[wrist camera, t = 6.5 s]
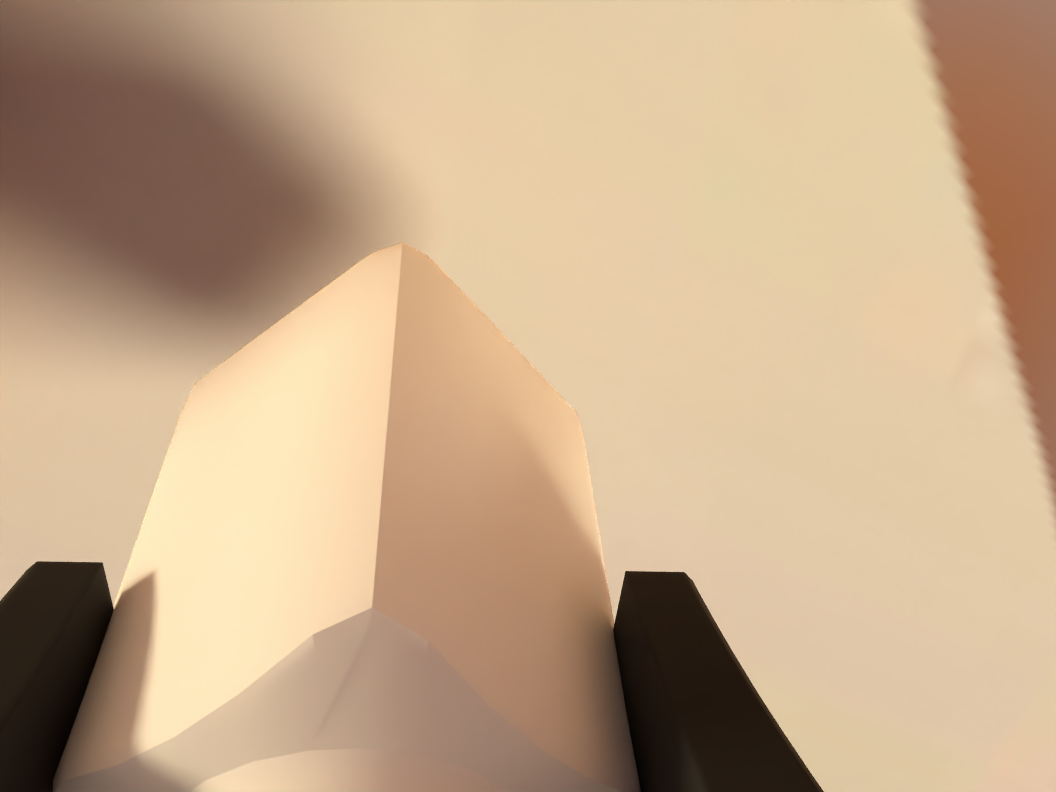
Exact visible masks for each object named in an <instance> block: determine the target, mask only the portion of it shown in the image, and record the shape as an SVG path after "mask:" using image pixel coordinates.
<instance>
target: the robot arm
mask: <svg viewBox="0 0 1056 792" xmlns="http://www.w3.org/2000/svg"><path fill="white" fill-rule="evenodd" d="M113 611H114V609H113V605H112V600H111V596H110V592H109V588H108V584H107V579H106V575H105V571H104V567H103V563H98V562H38V561H37V562H36V563H35V564H34V565H32V566H31V567H30V568H29V569H28V570H27V571H26V572H25V573H24V574H23V575H22V576H21V578H20V579H19V580H18V581H17V582H16V583H15V585H14V586H13V587H12V588H11V589H10V590H9V591H8V593H7V594H6V595H5V596H4V597H3V598H2V600H1V601H0V792H53V779H54V776H55V773H56V771H57V768H58V765H59V762H60V760H61V757H62V754H63V752H64V749H65V746H66V743H67V741H68V738H69V735H70V732H71V730H72V727H73V724H74V722H75V719H76V716H77V713H78V711H79V708H80V705H81V703H82V700H83V697H84V694H85V691H86V689H87V686H88V683H89V680H90V677H91V674H92V671H93V668H94V666H95V663H96V660H97V657H98V654H99V651H100V648H101V645H102V643H103V640H104V637H105V634H106V631H107V628H108V625H109V622H110V620H111V617H112V614H113ZM613 632H614V638H615V645H616V651H617V657H618V663H619V670H620V676H621V682H622V688H623V694H624V701H625V707H626V713H627V719H628V724H629V729H630V735H631V740H632V746H633V751H634V756H635V762H636V767H637V773H638V778H639V783H640V789H641V792H824V791H823V790H822V789H821V787H820V786H819V784H818V783H817V781H816V780H815V779H814V777H813V776H812V774H811V773H810V771H809V770H808V768H807V767H806V765H805V764H804V762H803V761H802V759H801V758H800V756H799V755H798V753H797V752H796V750H795V749H794V747H793V746H792V744H791V743H790V741H789V740H788V738H787V737H786V736H785V734H784V733H783V731H782V730H781V728H780V727H779V725H778V724H777V722H776V721H775V719H774V718H773V716H772V714H771V713H770V711H769V710H768V708H767V707H766V705H765V704H764V702H763V700H762V699H761V697H760V696H759V694H758V692H757V691H756V689H755V688H754V686H753V684H752V683H751V681H750V679H749V678H748V676H747V675H746V673H745V671H744V670H743V668H742V666H741V665H740V663H739V661H738V660H737V658H736V657H735V655H734V653H733V652H732V650H731V648H730V646H729V645H728V643H727V641H726V640H725V638H724V636H723V635H722V633H721V631H720V629H719V628H718V626H717V624H716V622H715V621H714V619H713V617H712V615H711V613H710V612H709V610H708V608H707V606H706V605H705V603H704V601H703V599H702V597H701V595H700V594H699V592H698V590H697V588H696V586H695V584H694V582H693V581H692V580H691V579H690V578H689V577H688V576H687V574H686V573H685V572H638V571H626V572H625V577H624V581H623V586H622V591H621V596H620V600H619V605H618V610H617V615H616V619H615V624H614V629H613Z"/></svg>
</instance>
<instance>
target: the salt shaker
mask: <svg viewBox="0 0 1056 792" xmlns="http://www.w3.org/2000/svg"><path fill="white" fill-rule="evenodd" d="M113 609H114V611H113V614H112V617H111V620H110V622H109V625H108V628H107V631H106V634H105V637H104V640H103V643H102V645H101V648H100V651H99V654H98V657H97V660H96V663H95V666H94V668H93V671H92V674H91V677H90V680H89V683H88V686H87V689H86V691H85V694H84V697H83V700H82V703H81V705H80V708H79V711H78V713H77V716H76V719H75V722H74V724H73V727H72V730H71V732H70V735H69V738H68V741H67V743H66V746H65V749H64V752H63V754H62V757H61V760H60V762H59V765H58V768H57V771H56V773H55V776H54V779H53V792H641V789H640V783H639V778H638V773H637V767H636V762H635V756H634V751H633V746H632V740H631V735H630V729H629V724H628V719H627V713H626V707H625V701H624V694H623V688H622V682H621V676H620V670H619V663H618V657H617V651H616V645H615V638H614V632H613V629H614V620H613V614H612V608H611V602H610V596H609V589H608V583H607V577H606V571H605V565H604V559H603V552H602V546H601V540H600V534H599V528H598V522H597V515H596V509H595V503H594V497H593V491H592V485H591V478H590V472H589V466H588V460H587V454H586V447H585V441H584V437H583V433H582V430H581V426H580V423H579V419H578V416H577V412H576V411H575V410H574V409H573V408H572V407H571V406H570V405H569V404H568V403H567V402H566V401H565V400H564V399H563V397H562V396H561V395H560V394H559V393H558V392H557V391H556V390H555V389H554V388H553V387H552V386H551V385H550V384H549V383H548V382H547V381H546V379H545V378H544V377H543V376H542V375H541V374H540V373H539V372H538V371H537V370H536V369H535V368H534V367H533V366H532V365H531V364H530V362H529V361H528V360H527V359H526V358H525V357H524V356H523V355H522V354H521V353H520V352H519V351H518V350H517V349H516V348H515V347H514V346H513V344H512V343H511V342H510V341H509V340H508V339H507V338H506V337H505V336H504V335H503V334H502V333H501V332H500V331H499V330H498V329H497V328H496V326H495V325H494V324H493V323H492V322H491V321H490V320H489V319H488V318H487V317H486V316H485V315H484V314H483V313H482V312H481V311H480V310H479V308H478V307H477V306H476V305H475V304H474V303H473V302H472V301H471V300H470V299H469V298H468V297H467V296H466V295H465V294H464V293H463V292H462V290H461V289H460V288H459V287H458V286H457V285H456V284H455V283H454V282H453V281H452V280H451V279H450V278H449V277H448V276H447V275H446V274H445V273H444V271H443V270H442V269H441V268H440V267H439V266H438V265H437V264H436V263H435V262H433V261H432V260H431V259H430V258H429V257H428V256H426V255H425V254H423V253H421V252H419V251H417V250H415V249H414V248H412V247H410V246H408V245H406V244H404V243H403V242H402V243H399V244H396V245H393V246H390V247H387V248H384V249H381V250H377V251H375V252H374V253H372V254H370V255H369V256H367V257H365V258H363V259H362V260H361V261H359V262H358V263H357V264H355V265H354V266H353V267H351V268H350V269H349V270H347V271H346V272H344V273H343V274H342V275H340V276H339V277H338V278H336V279H335V280H334V281H332V282H331V283H330V284H328V285H327V286H325V287H324V288H323V289H321V290H320V291H319V292H317V293H316V294H315V295H313V296H312V297H311V298H309V299H308V300H307V301H305V302H304V303H302V304H301V305H300V306H298V307H297V308H296V309H294V310H293V311H292V312H290V313H289V314H288V315H286V316H285V317H283V318H282V319H281V320H279V321H278V322H277V323H275V324H274V325H273V326H271V327H270V328H269V329H267V330H266V331H265V332H263V333H262V334H260V335H259V336H258V337H256V338H255V339H254V340H252V341H251V342H250V343H248V344H247V345H246V346H244V347H243V348H241V349H240V350H239V351H237V352H236V353H235V354H233V355H232V356H231V357H229V358H228V359H227V360H225V361H224V362H223V363H221V364H220V365H219V366H217V367H216V368H214V369H213V370H212V371H210V372H209V373H208V374H206V375H205V376H204V377H202V378H201V379H200V380H198V381H197V382H196V383H195V384H194V386H193V388H192V390H191V392H190V394H189V396H188V398H187V400H186V402H185V404H184V406H183V409H182V411H181V414H180V417H179V420H178V423H177V426H176V428H175V431H174V434H173V437H172V440H171V443H170V446H169V449H168V451H167V454H166V457H165V460H164V463H163V466H162V469H161V471H160V474H159V477H158V480H157V483H156V486H155V489H154V492H153V494H152V497H151V500H150V503H149V506H148V509H147V512H146V514H145V517H144V520H143V523H142V526H141V529H140V532H139V535H138V537H137V540H136V543H135V546H134V549H133V552H132V555H131V557H130V560H129V563H128V566H127V569H126V572H125V575H124V578H123V580H122V583H121V586H120V589H119V592H118V595H117V598H116V600H115V603H114V606H113Z"/></svg>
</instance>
